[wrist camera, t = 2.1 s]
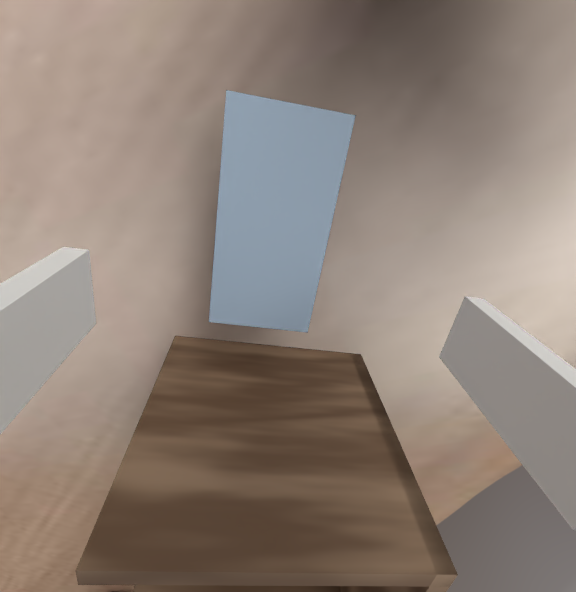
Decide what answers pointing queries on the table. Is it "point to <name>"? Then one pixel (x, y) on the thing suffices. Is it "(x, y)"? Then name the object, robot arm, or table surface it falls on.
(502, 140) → the table surface
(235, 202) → the shelf board
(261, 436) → the bookcase frame
